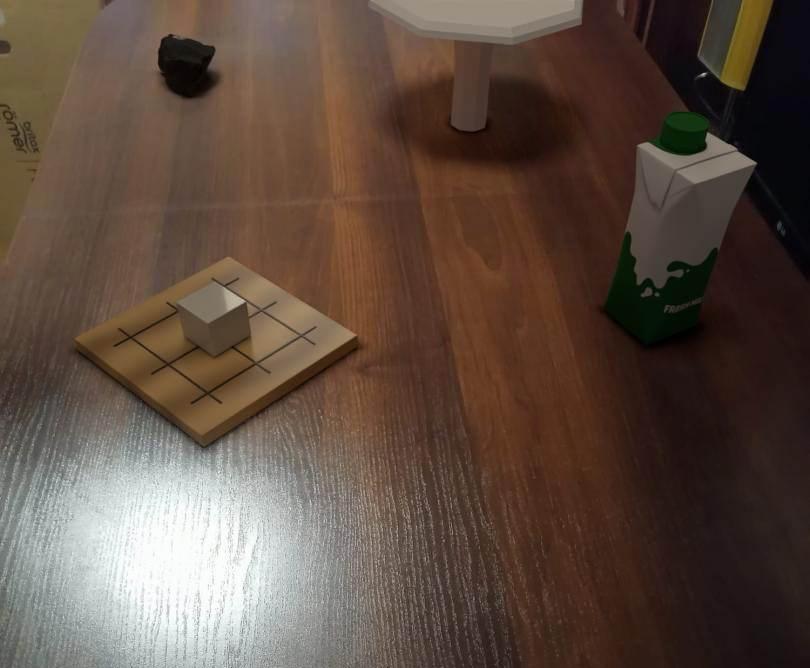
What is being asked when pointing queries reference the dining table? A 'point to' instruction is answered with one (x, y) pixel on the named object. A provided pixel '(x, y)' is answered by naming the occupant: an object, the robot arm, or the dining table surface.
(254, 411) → the board
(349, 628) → the dining table surface
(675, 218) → the milk carton
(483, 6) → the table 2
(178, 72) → the rock
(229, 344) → the two-tone grey box
